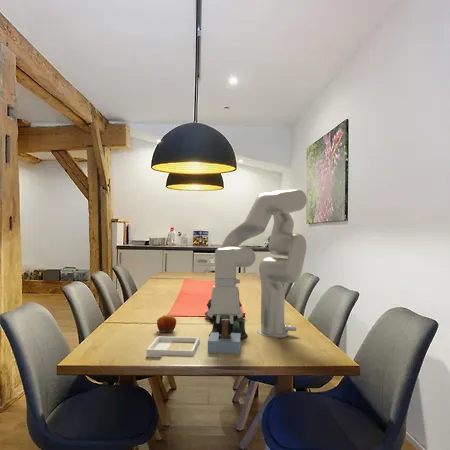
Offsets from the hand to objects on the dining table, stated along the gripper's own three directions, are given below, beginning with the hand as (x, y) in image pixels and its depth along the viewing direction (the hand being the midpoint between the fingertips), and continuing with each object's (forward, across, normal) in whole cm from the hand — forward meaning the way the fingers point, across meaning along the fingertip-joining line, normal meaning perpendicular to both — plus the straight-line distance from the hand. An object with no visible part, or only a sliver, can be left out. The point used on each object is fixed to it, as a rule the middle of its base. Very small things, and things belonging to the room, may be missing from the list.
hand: (225, 333), depth 145 cm
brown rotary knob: (+7, 0, -15) cm, 17 cm away
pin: (+5, 0, 0) cm, 5 cm away
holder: (+6, 0, 0) cm, 6 cm away
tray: (+6, +18, +1) cm, 19 cm away
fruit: (+6, +26, -23) cm, 35 cm away
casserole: (+7, +4, -50) cm, 51 cm away
